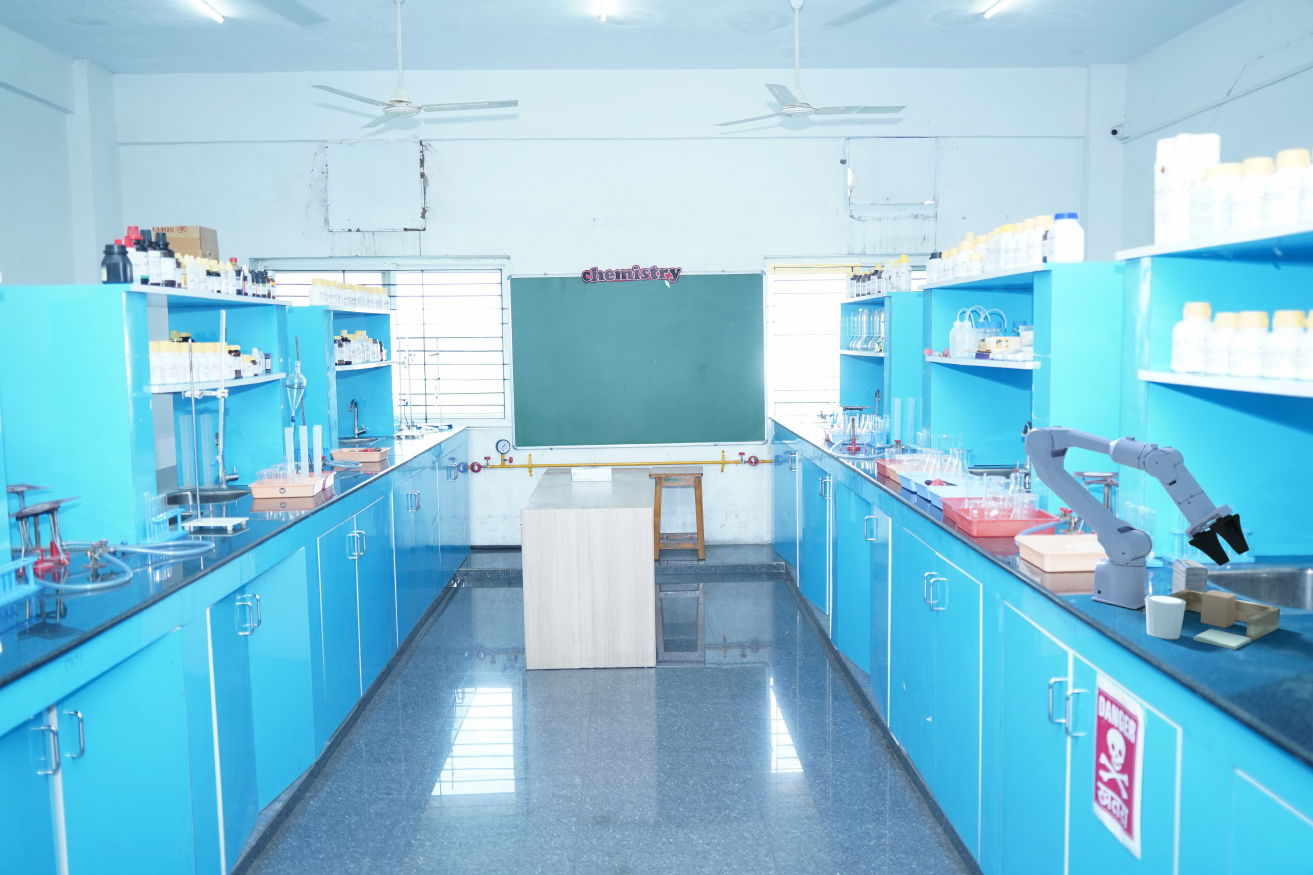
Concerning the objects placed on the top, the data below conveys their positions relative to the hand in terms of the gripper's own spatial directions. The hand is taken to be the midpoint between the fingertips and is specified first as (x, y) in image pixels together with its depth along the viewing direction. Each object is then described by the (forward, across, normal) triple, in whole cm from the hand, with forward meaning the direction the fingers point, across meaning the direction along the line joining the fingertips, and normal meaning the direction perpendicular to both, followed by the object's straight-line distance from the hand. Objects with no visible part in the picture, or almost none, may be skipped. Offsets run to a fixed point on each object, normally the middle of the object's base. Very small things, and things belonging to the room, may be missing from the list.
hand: (1234, 558), depth 180 cm
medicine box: (+3, +22, +2) cm, 22 cm away
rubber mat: (+12, -2, +13) cm, 18 cm away
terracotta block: (+9, +8, +6) cm, 14 cm away
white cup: (+7, +1, +21) cm, 22 cm away
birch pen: (+9, +8, +6) cm, 14 cm away
